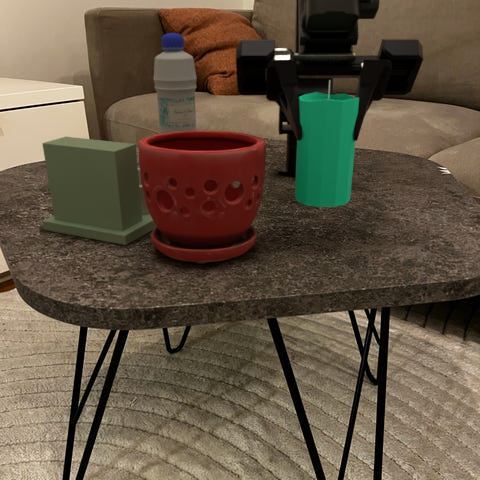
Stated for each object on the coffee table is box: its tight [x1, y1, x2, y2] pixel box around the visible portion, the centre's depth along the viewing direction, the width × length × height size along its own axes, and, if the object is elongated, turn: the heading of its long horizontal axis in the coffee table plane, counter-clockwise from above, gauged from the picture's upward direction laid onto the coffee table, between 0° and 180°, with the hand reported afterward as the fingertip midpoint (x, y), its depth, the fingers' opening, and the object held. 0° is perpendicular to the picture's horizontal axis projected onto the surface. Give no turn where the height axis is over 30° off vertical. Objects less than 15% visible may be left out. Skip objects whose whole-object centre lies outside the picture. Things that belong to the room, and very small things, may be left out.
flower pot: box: [138, 130, 267, 265], centre depth 63 cm, size 13×13×12 cm
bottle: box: [153, 32, 198, 134], centre depth 94 cm, size 7×7×20 cm
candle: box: [294, 80, 359, 208], centre depth 61 cm, size 6×6×12 cm
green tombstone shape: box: [42, 136, 157, 246], centre depth 74 cm, size 18×12×10 cm, turn 154°
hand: (327, 138), depth 59 cm, fingers closed on candle, 5 cm apart
